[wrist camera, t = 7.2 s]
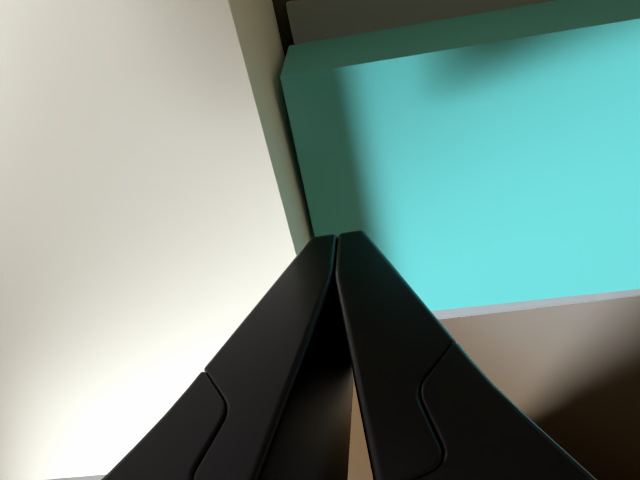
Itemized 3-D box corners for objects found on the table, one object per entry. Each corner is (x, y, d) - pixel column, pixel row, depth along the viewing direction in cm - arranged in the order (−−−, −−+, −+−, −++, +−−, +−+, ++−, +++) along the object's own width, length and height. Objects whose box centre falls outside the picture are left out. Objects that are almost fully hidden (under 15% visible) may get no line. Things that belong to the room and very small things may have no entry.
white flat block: (-43, 381, 19) (-125, 494, 15) (-346, 0, 12) (-602, 57, 9) (347, 335, 17) (349, 452, 14) (240, -139, 10) (192, -132, 7)
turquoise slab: (334, 270, 15) (332, 321, 14) (288, 45, 12) (280, 76, 10) (649, 233, 14) (690, 283, 13) (696, -24, 11) (759, -2, 9)
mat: (355, 322, 17) (355, 329, 16) (286, 1, 12) (285, 4, 11) (723, 277, 15) (729, 284, 15) (820, -106, 10) (833, -104, 10)
